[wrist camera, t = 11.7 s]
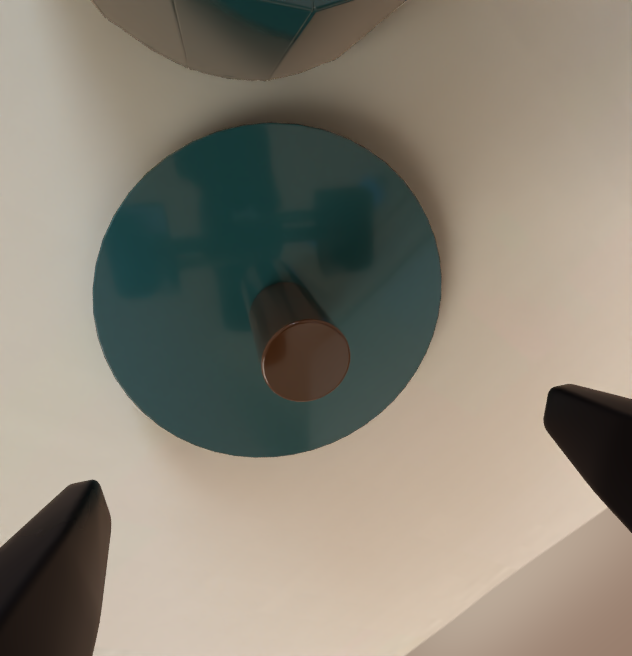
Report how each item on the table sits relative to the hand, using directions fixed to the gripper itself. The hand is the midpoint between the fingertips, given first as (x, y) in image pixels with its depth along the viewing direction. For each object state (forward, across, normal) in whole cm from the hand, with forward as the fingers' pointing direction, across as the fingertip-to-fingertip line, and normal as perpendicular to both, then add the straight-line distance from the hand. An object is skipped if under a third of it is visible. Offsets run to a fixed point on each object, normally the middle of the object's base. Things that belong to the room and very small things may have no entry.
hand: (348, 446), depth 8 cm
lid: (+8, 0, 0) cm, 9 cm away
